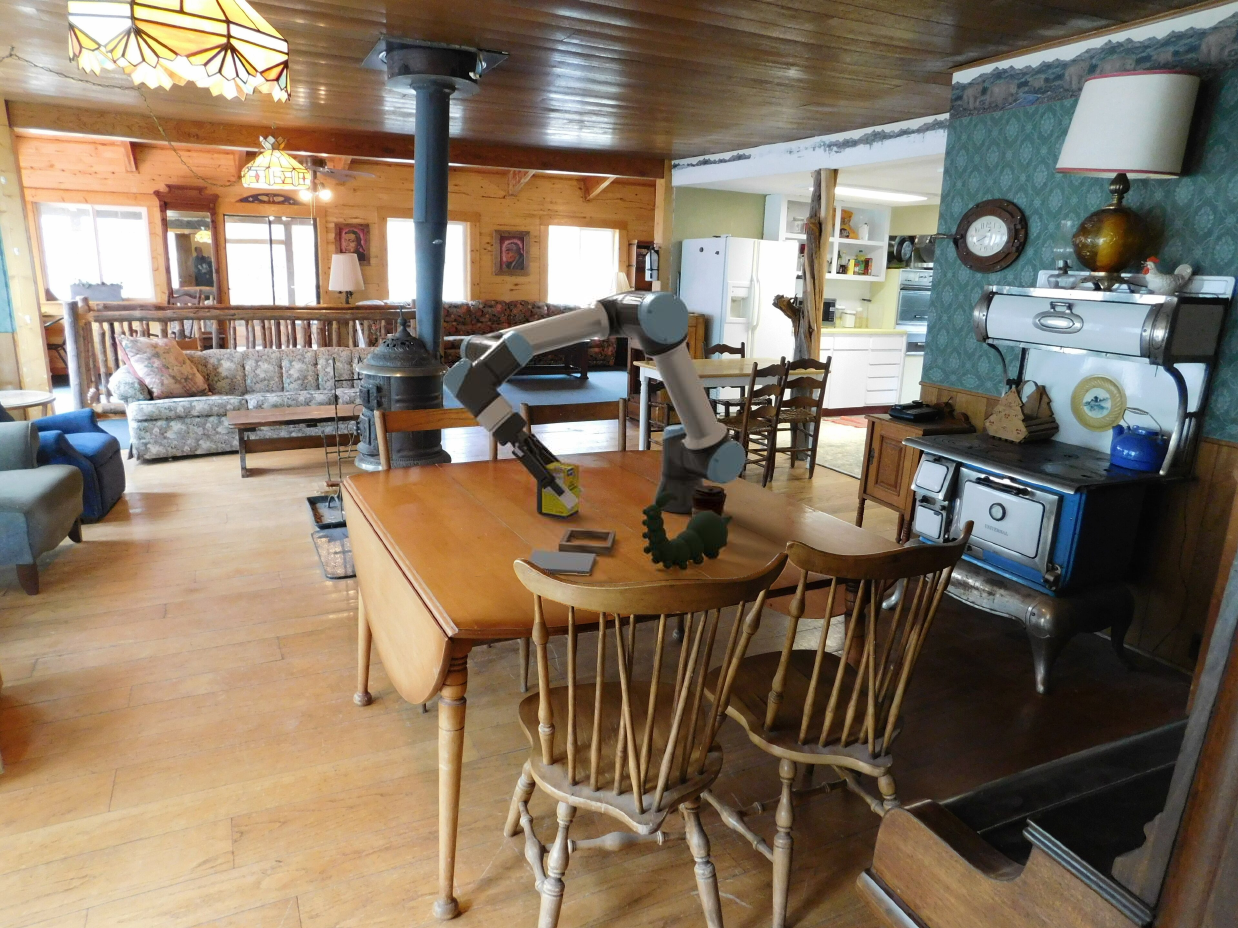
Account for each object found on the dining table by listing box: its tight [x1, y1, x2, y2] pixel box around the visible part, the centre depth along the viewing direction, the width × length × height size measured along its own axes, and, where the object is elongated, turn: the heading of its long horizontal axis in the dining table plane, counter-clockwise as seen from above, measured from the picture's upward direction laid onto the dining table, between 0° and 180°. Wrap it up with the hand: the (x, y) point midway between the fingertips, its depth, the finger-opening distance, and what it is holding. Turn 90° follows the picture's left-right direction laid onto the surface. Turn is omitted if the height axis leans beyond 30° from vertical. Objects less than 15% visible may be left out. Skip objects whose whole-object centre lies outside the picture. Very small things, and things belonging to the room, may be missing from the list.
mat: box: [528, 549, 597, 575], centre depth 174 cm, size 14×11×1 cm
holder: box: [558, 527, 616, 556], centre depth 187 cm, size 12×12×2 cm
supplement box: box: [541, 461, 580, 520], centre depth 170 cm, size 6×6×11 cm
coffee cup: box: [691, 485, 727, 518], centre depth 193 cm, size 9×8×13 cm
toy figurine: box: [641, 492, 733, 571], centre depth 176 cm, size 9×19×25 cm
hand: (576, 499), depth 171 cm, fingers closed on supplement box, 7 cm apart
